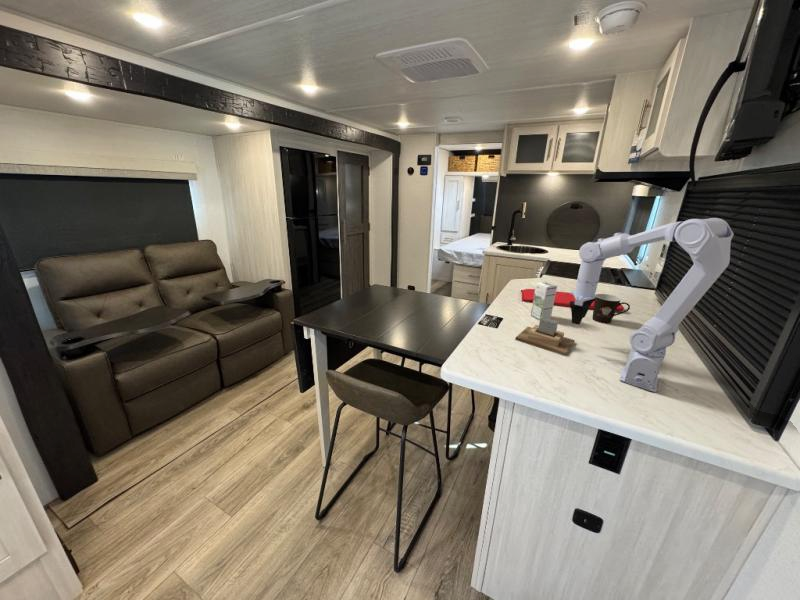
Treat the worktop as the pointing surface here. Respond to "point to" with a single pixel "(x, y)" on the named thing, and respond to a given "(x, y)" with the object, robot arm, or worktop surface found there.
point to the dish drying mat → (557, 298)
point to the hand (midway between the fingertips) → (578, 320)
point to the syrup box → (543, 300)
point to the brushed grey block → (547, 326)
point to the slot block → (546, 340)
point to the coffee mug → (606, 308)
